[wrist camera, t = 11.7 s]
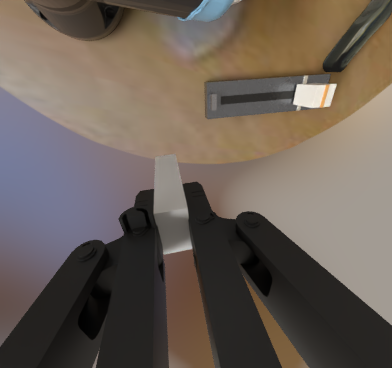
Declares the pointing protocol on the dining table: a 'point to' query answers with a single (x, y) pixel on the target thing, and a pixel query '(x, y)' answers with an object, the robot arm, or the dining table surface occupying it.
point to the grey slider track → (255, 95)
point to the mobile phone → (358, 35)
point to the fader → (314, 95)
